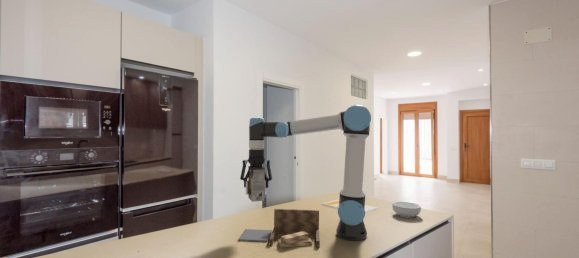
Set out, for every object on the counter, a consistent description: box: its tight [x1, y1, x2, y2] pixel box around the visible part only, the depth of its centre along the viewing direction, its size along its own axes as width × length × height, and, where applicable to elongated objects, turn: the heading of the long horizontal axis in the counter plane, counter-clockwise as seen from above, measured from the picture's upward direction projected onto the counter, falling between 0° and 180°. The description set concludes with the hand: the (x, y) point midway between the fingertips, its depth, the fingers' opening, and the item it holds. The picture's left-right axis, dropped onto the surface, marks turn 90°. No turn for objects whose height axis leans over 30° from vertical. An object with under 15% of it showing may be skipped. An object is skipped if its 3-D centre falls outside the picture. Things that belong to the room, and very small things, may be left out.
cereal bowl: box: [391, 201, 422, 219], centre depth 180 cm, size 17×17×7 cm
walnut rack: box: [268, 208, 321, 249], centre depth 139 cm, size 23×18×12 cm
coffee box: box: [247, 165, 266, 202], centre depth 143 cm, size 9×6×16 cm
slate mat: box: [237, 228, 273, 243], centre depth 143 cm, size 14×14×1 cm
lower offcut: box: [277, 237, 313, 248], centre depth 133 cm, size 15×4×2 cm, turn 101°
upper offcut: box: [280, 231, 310, 245], centre depth 133 cm, size 13×4×2 cm, turn 125°
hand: (256, 194), depth 143 cm, fingers closed on coffee box, 8 cm apart
